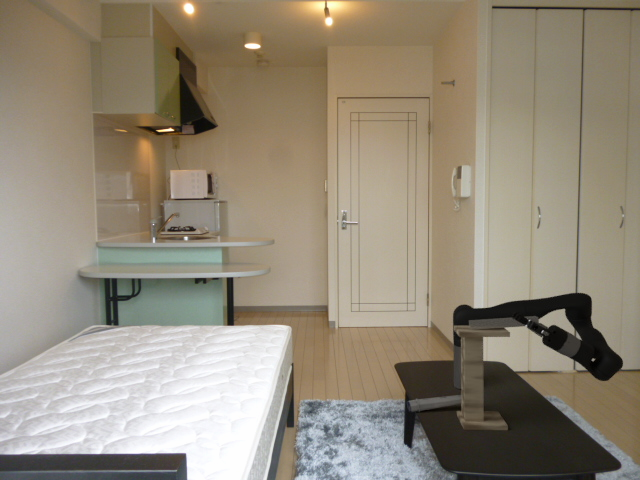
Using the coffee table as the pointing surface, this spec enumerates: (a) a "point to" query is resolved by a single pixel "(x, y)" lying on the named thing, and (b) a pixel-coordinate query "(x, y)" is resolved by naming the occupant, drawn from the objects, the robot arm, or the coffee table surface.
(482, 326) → the grey long bar
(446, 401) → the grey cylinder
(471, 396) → the birch stand
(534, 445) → the coffee table surface
